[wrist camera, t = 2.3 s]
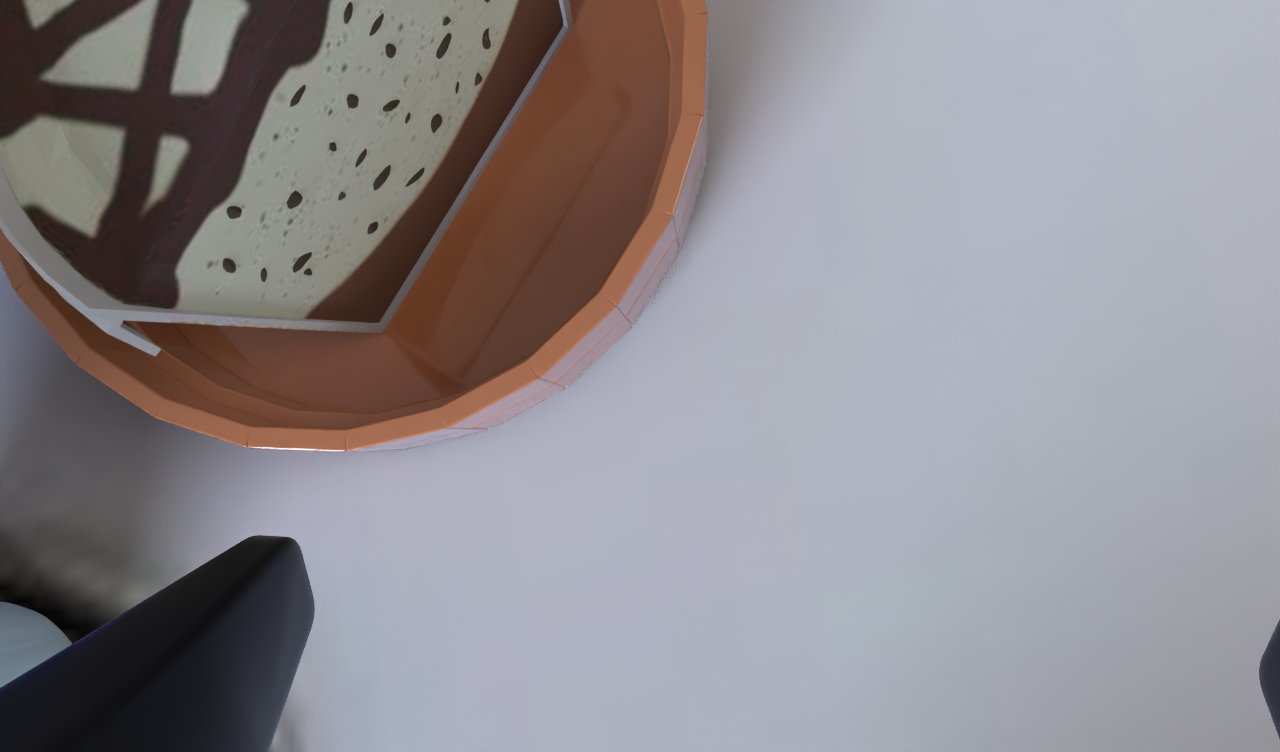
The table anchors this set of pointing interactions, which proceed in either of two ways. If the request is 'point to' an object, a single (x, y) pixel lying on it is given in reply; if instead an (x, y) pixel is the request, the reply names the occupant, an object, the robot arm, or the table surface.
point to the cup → (26, 640)
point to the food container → (253, 149)
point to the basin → (464, 268)
